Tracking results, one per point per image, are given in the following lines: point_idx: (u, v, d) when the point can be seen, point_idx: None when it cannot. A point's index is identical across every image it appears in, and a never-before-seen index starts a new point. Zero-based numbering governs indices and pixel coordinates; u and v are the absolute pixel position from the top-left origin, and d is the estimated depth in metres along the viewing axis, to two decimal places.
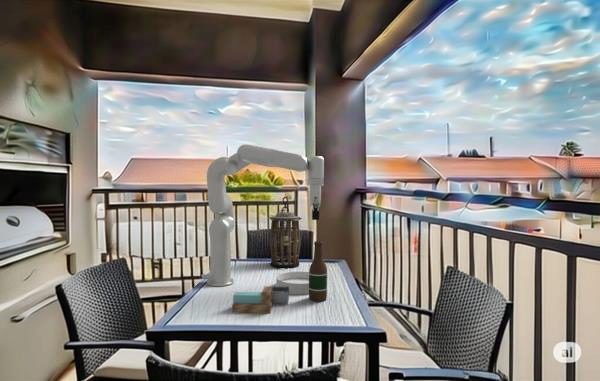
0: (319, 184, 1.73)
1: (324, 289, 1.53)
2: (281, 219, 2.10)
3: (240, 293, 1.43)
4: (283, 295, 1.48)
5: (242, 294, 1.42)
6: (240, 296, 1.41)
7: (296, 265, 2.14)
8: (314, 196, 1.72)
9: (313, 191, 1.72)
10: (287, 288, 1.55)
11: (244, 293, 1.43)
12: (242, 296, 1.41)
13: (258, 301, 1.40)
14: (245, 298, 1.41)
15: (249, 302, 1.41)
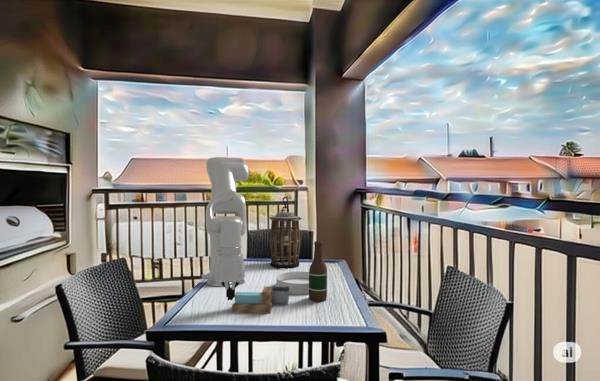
0: None
1: (324, 289, 1.53)
2: (281, 219, 2.10)
3: (242, 293, 1.43)
4: (283, 295, 1.48)
5: (243, 294, 1.42)
6: (241, 296, 1.41)
7: (296, 265, 2.14)
8: (243, 268, 1.42)
9: (242, 262, 1.41)
10: (287, 288, 1.55)
11: (245, 293, 1.43)
12: (243, 296, 1.40)
13: (259, 301, 1.40)
14: (246, 298, 1.40)
15: (250, 302, 1.40)
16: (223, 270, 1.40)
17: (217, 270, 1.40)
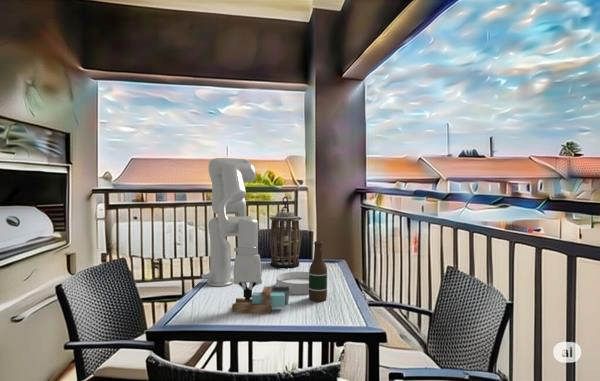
0: None
1: (324, 289, 1.53)
2: (281, 219, 2.10)
3: (259, 293, 1.43)
4: None
5: (260, 294, 1.42)
6: (259, 296, 1.40)
7: (296, 265, 2.14)
8: (260, 268, 1.41)
9: (260, 262, 1.41)
10: (287, 288, 1.55)
11: None
12: (260, 296, 1.40)
13: (277, 301, 1.40)
14: None
15: None
16: (241, 270, 1.39)
17: (234, 270, 1.40)
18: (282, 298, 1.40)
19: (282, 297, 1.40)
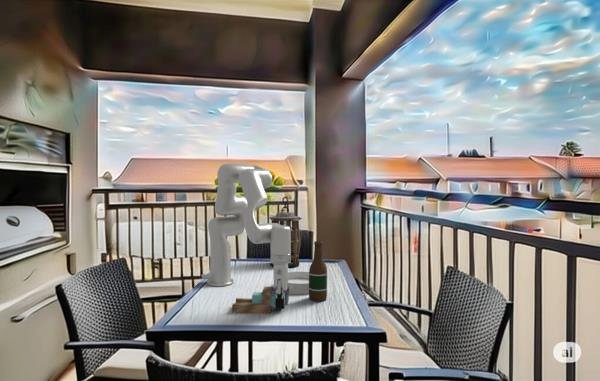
0: None
1: (324, 289, 1.53)
2: (281, 219, 2.10)
3: (259, 293, 1.43)
4: None
5: (260, 294, 1.42)
6: (259, 296, 1.40)
7: (296, 265, 2.14)
8: None
9: None
10: None
11: None
12: (260, 296, 1.40)
13: None
14: None
15: None
16: (287, 277, 1.40)
17: (286, 279, 1.38)
18: None
19: None
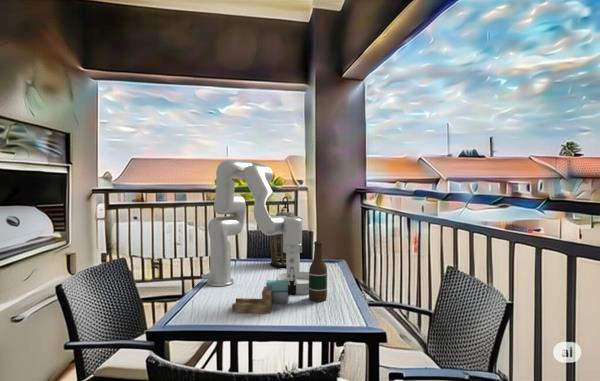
0: None
1: (324, 289, 1.53)
2: None
3: (272, 281, 1.53)
4: (283, 295, 1.48)
5: (274, 281, 1.51)
6: (272, 283, 1.50)
7: None
8: None
9: None
10: None
11: (276, 281, 1.52)
12: (274, 283, 1.50)
13: None
14: (277, 285, 1.50)
15: (281, 289, 1.50)
16: None
17: (298, 267, 1.47)
18: None
19: None
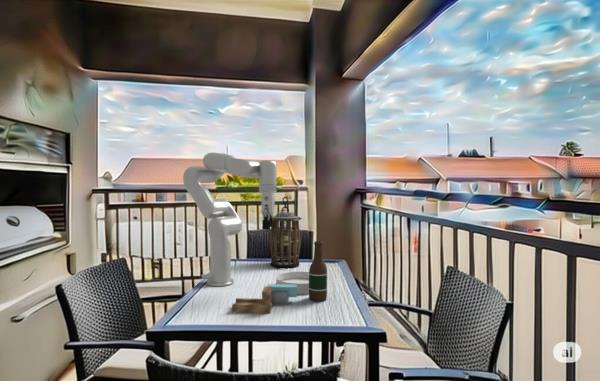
0: None
1: (324, 289, 1.53)
2: (281, 219, 2.10)
3: (273, 285, 1.52)
4: (283, 295, 1.48)
5: (274, 286, 1.51)
6: (273, 287, 1.50)
7: (296, 265, 2.14)
8: None
9: None
10: None
11: (276, 285, 1.52)
12: (274, 288, 1.50)
13: (290, 292, 1.50)
14: (278, 290, 1.50)
15: None
16: (273, 204, 1.61)
17: (272, 205, 1.59)
18: (295, 289, 1.50)
19: (295, 288, 1.50)
